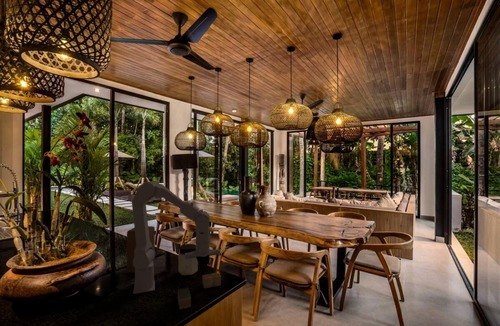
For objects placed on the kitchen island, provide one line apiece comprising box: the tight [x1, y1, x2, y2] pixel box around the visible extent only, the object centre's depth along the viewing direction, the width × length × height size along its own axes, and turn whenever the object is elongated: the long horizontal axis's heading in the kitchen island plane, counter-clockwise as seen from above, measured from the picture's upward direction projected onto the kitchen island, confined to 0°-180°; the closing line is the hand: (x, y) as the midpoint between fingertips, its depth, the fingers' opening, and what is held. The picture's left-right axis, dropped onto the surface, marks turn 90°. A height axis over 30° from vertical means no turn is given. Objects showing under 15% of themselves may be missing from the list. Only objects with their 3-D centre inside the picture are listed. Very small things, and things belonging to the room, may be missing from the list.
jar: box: [178, 243, 199, 276], centre depth 121 cm, size 9×8×12 cm
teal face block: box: [177, 287, 192, 310], centre depth 93 cm, size 4×4×7 cm
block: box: [126, 225, 156, 274], centre depth 123 cm, size 10×10×20 cm
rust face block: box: [201, 272, 222, 289], centre depth 107 cm, size 4×4×7 cm
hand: (202, 273), depth 106 cm, fingers closed
